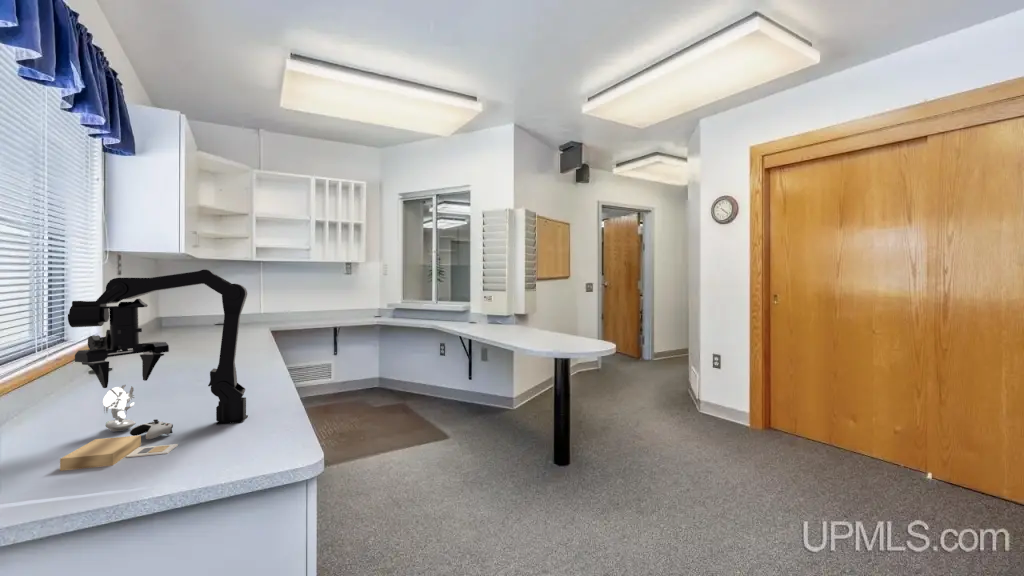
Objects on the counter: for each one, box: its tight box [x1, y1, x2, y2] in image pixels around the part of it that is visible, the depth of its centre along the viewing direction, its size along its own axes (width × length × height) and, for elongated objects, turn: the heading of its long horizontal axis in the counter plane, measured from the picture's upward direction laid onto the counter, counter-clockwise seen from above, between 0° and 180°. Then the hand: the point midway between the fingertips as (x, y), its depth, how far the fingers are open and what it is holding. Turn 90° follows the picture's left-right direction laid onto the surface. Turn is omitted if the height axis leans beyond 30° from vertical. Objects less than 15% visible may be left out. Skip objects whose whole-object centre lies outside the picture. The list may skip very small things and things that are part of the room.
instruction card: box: [125, 443, 179, 458], centre depth 105 cm, size 8×6×1 cm
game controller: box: [129, 419, 174, 440], centre depth 115 cm, size 10×5×6 cm
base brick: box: [59, 434, 142, 472], centre depth 101 cm, size 9×13×3 cm
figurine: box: [102, 384, 136, 433], centre depth 120 cm, size 9×6×12 cm
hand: (125, 384), depth 118 cm, fingers open, 9 cm apart
